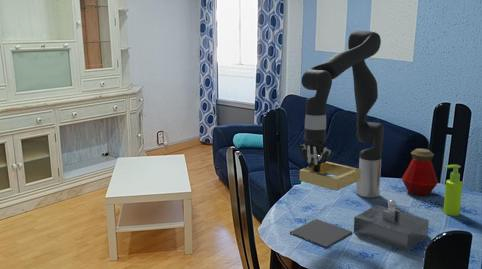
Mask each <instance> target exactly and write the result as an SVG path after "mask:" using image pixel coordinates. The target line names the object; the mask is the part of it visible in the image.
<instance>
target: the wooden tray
mask: <svg viewBox="0 0 482 269" xmlns="http://www.w3.org/2000/svg"><path fill="white" fill-rule="evenodd" d="M314 165H315V164H314ZM314 165H312V166H309V167H308V166H306V167H304V168H301V169H299V180H298V181H300V182H303V183H306V184H310V185H314V186H318V187H321V188H325V189H329V190H332V191H335V192H336V191H340V190H342V189H344V188H346V187H348V186H350V185H353V184H355V183H357V181H360V180H361V169H359V167H357V168H356V167H352V166H349V165H344V164H338V163H336V162H335V163H334V162H330V161H326V162H325V163H323V164H321V165H320V173H317V172H314ZM332 175H333V176H332Z"/></svg>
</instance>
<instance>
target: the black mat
mask: <svg viewBox="0 0 482 269" xmlns="http://www.w3.org/2000/svg"><path fill="white" fill-rule="evenodd" d="M290 233H293V234H295V235H297V236H296V237H298V236H300V237H302V238H305V239H307V240H309V241H308V242H310V241H312V242H314V243H313V244H315V243H317V244H319V245H318V246H320V245H321V246H320V247H322V246H323V247H322V248H324V247H326V248H325V249H327V248H329V247H331V246H332V244H333V245H334V244H336V243H338V242H339V240H340V241H341V240H343V239H344V238H347V237H348V236H350V235H352V234H353V231H351V230H348V229H347V228H343V227H340V226H338V225H334V224H332V223H329V222H327V221H324V220H320V219H317V218H315V219H313V220H311V221H309V222H307V223H305V224H303V225H300V226H299V227H297V228H295V229H293V230H290V231H289V234H290ZM293 234H292V235H293ZM295 235H294V236H295ZM300 237H299V238H300ZM302 238H301V239H302ZM305 239H304V240H305ZM307 240H306V241H307ZM337 241H338V242H337ZM312 242H311V243H312ZM335 242H336V243H335ZM317 244H316V245H317ZM330 245H331V246H330ZM328 246H329V247H328Z"/></svg>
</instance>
